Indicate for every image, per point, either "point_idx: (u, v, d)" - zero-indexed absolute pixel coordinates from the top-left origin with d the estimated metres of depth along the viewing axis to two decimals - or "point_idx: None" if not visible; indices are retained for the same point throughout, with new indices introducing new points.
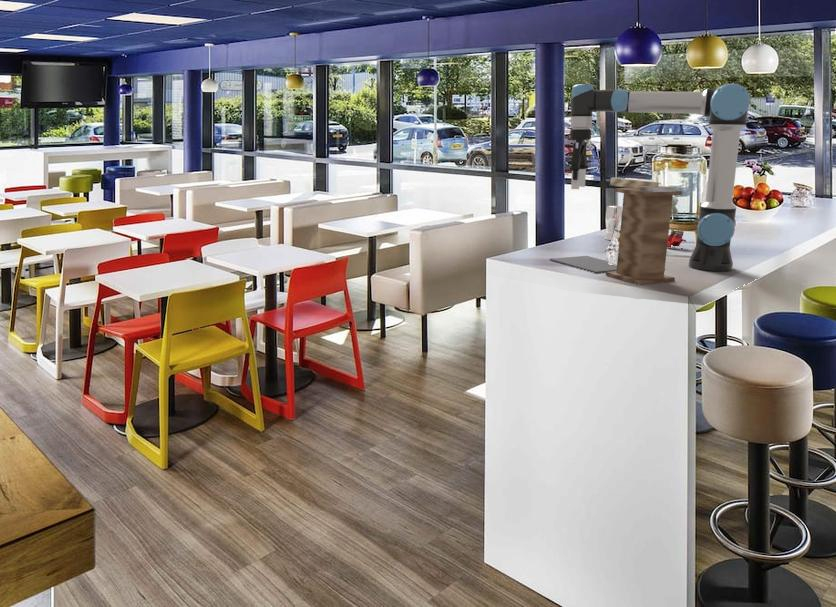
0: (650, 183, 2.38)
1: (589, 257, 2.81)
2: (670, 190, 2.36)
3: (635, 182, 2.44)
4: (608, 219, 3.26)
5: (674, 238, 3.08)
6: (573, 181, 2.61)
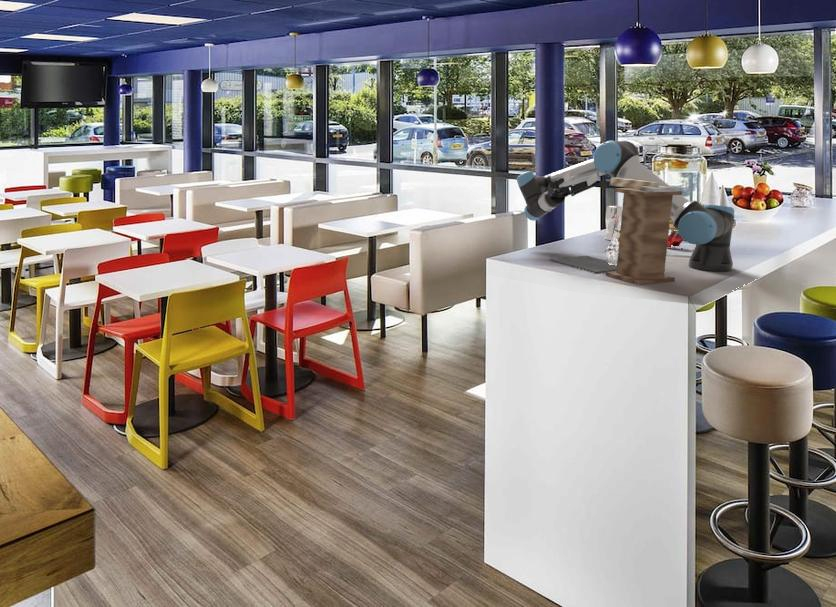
0: (650, 183, 2.38)
1: (589, 257, 2.81)
2: (670, 190, 2.36)
3: (635, 182, 2.44)
4: (608, 219, 3.26)
5: (674, 238, 3.08)
6: (565, 180, 2.72)
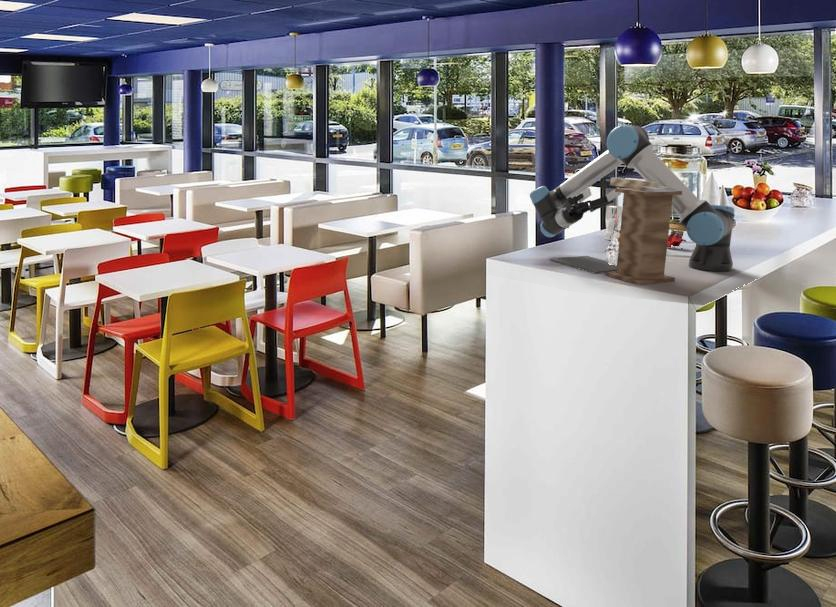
0: (650, 183, 2.38)
1: (589, 257, 2.81)
2: (670, 190, 2.36)
3: (635, 182, 2.44)
4: (608, 219, 3.26)
5: (674, 238, 3.08)
6: (584, 196, 2.58)
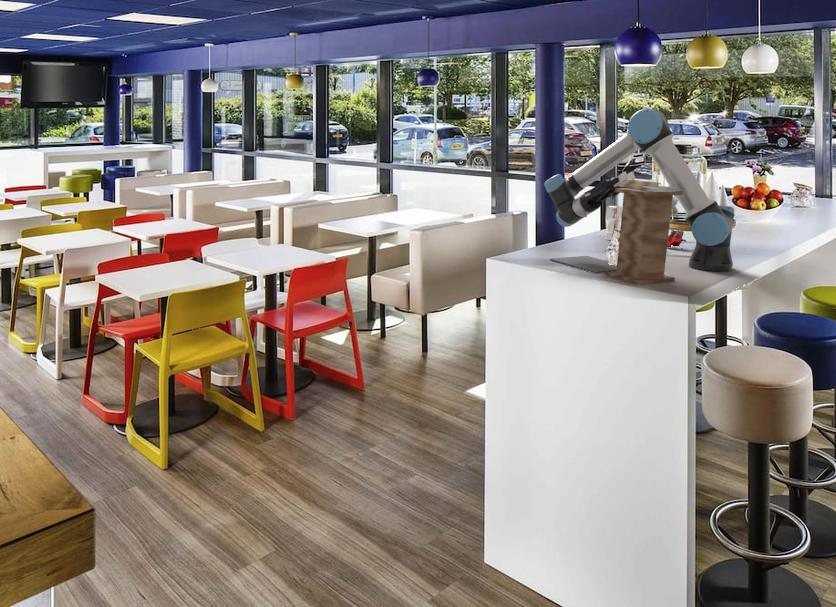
0: (650, 183, 2.38)
1: (589, 257, 2.81)
2: (670, 190, 2.36)
3: (635, 182, 2.44)
4: (608, 219, 3.26)
5: (674, 238, 3.08)
6: (620, 180, 2.49)
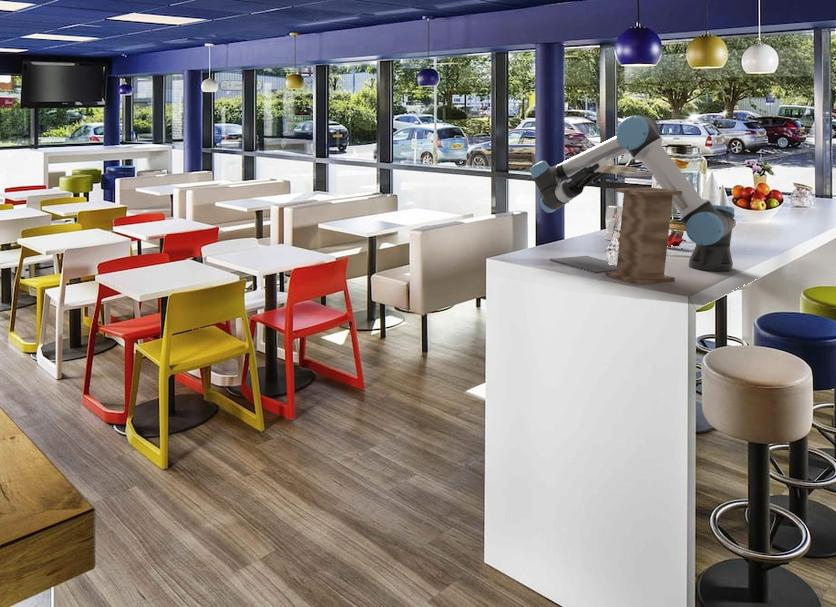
0: (628, 168, 2.46)
1: (589, 257, 2.81)
2: (647, 175, 2.44)
3: (614, 167, 2.52)
4: (608, 219, 3.26)
5: (674, 238, 3.08)
6: (600, 166, 2.57)
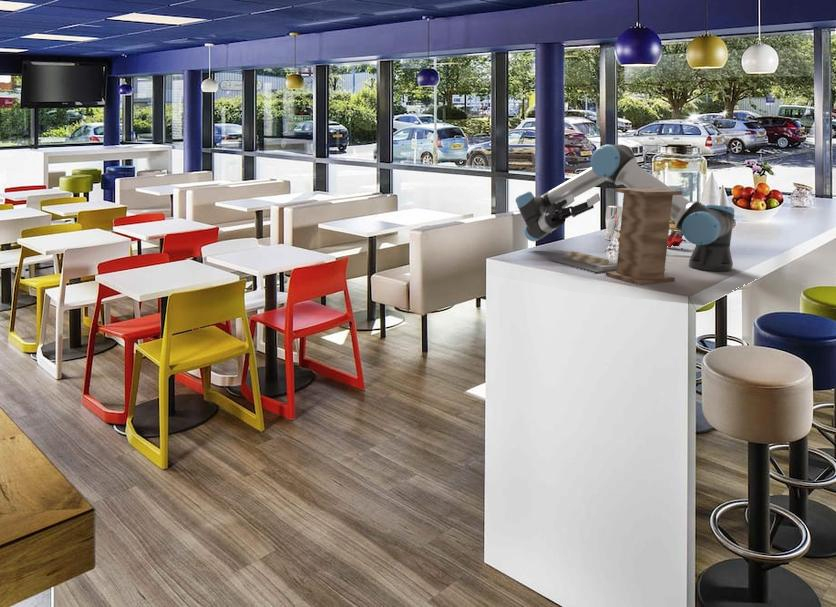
0: (601, 260, 2.62)
1: None
2: None
3: (588, 258, 2.68)
4: (608, 219, 3.26)
5: (674, 238, 3.08)
6: (568, 202, 2.68)
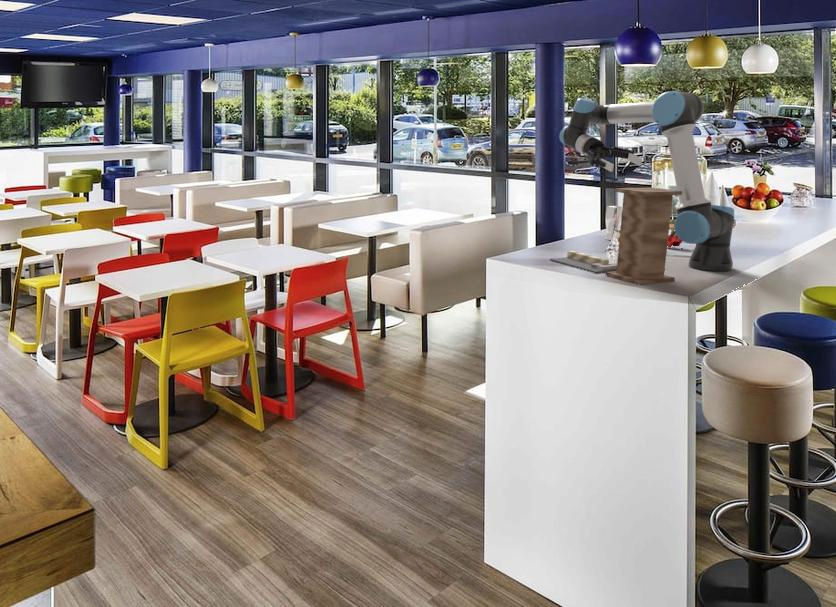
0: (601, 260, 2.62)
1: None
2: None
3: (588, 258, 2.68)
4: (608, 219, 3.26)
5: (674, 238, 3.08)
6: (606, 167, 2.67)
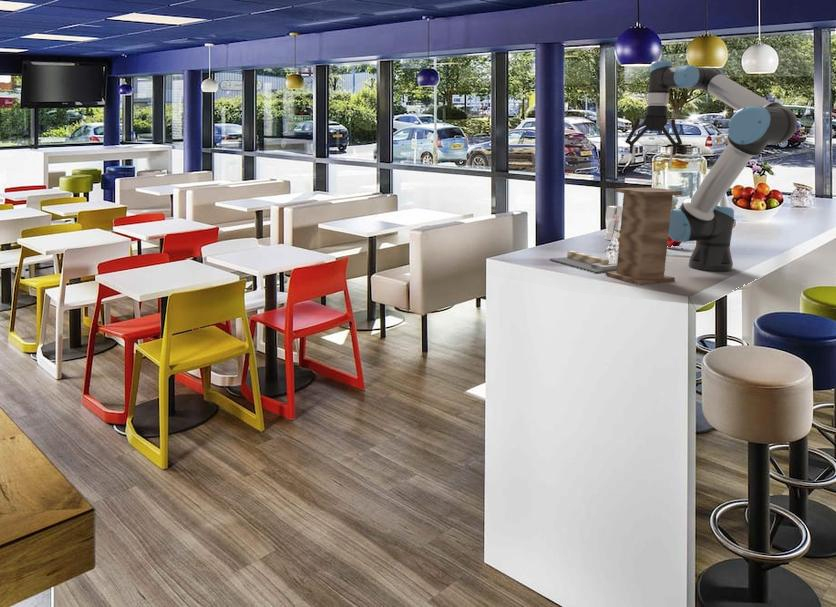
0: (601, 260, 2.62)
1: None
2: None
3: (588, 258, 2.68)
4: (608, 219, 3.26)
5: None
6: None
